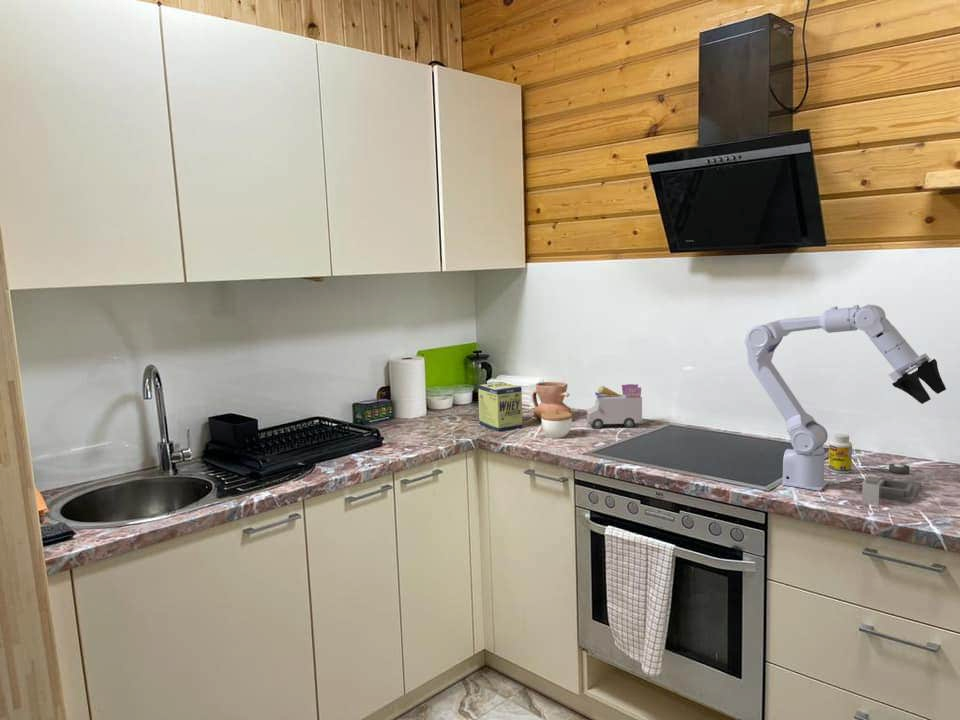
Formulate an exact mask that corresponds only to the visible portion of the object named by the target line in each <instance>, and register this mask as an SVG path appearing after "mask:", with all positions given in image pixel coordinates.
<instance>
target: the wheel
mask: <svg viewBox="0 0 960 720" xmlns="http://www.w3.org/2000/svg"><path fill="white" fill-rule="evenodd" d="M910 469H911V468H910V466H909V465H907V464H904V463H890V464H888V472H889V473H891V474H894V475H899V476H901V475H903V476H906V475H909V474H910Z"/></svg>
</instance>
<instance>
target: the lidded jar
mask: <svg viewBox="0 0 960 720" xmlns="http://www.w3.org/2000/svg"><path fill="white" fill-rule="evenodd" d="M572 417H573V413H572V412H571V413H569V412H564V411H558V410H557V409H555V411H551V412H545V413H542V414H541V420H540V421H541V428H542V430H543V432H544V433H545V434H546V435H547V436H549V437H548V438H550V437H552V438H551V439H563V438H565V437H566V436H567V435H568V434H569V432H570V431H571V428H572V423H573V420H572V419H573V418H572ZM562 437H563V438H562Z"/></svg>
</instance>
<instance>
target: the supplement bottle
mask: <svg viewBox="0 0 960 720" xmlns="http://www.w3.org/2000/svg"><path fill="white" fill-rule="evenodd" d="M828 448H829V449H828V470H829V471H830V472H832V473H836V474H849V473H851V471H852V458H853V443H852V442H850V435H849V434H846V433H833V434H832V440H830V441H829V447H828Z"/></svg>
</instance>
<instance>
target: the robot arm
mask: <svg viewBox="0 0 960 720" xmlns="http://www.w3.org/2000/svg"><path fill="white" fill-rule="evenodd" d="M819 329H822V330H823V331H825V332H827V333H828V334H829V333H830V334H832V333H844V332H854V331H857V330H860V331H863V332H864V333H865V334H866V335H867V337H868V338H869V339H870V341H871V342H872V343H873V345H874V346H875V347H876V348H877V350H878V351H879V352H880V353H881V355H882V356H883V357H884V358H885V359H886V360H887V362H888V363H889V365H890V366H891V367H892V368H893V369H894V371H892V372H890V373H889V374H888V376H889V377H890V378H891V380H892V381H893V382H892V383H891V384H892V386H893V387H894V388H896V389H899V390H900V391H903V392H904V393H906V394H908V395H910V396H911V397H912V398H913V399H914V400H916V401H917V402H918V403H920V404H921V405H923V404H925V403H928V402H929V401H931V397H930V394H928V392H927V390H926V388H925V387H924V386H923V384H922V382H921V381H923V382H924V383H925V384H926V385H927V386H928V387H929V388H930V389H931V390H932V391H933V392H934V393H936V394H937V395H938V394H940V393H942V392H944V391H946V390H947V387H946V385H945V383H944V381H943V380H942V377H941V375H940V374H941V373H940V372H939V368H938V361H937V360H936V359H935V358H933V359H931V358H930V357H929V356H928V355H927V353H926V352H925V353H923V354H921V355H918V354H917V352H916V351H915V350H914V349H913V348H912V346H911V345H910V343H908V341H907V340H906V339H905V338H904V337H903V335H902V334H901V333H900V332H899V331H898V330H897V328H896V326H894V325H893V324H892V323H891V322H890V321H889V319H888V318H887V317H886V311H885V310H884V309H883V308H882V307H881V306H879V305H877V304H866V305H864V306H861V307H860V305H859V304H854V305H853V306H852V307H844V308H843V307H842V308H841V307H840V308H839V307H838V306H831V307H830V308H829V309H826V310H825V311H824V312H823V313H822V314H821V315H817V316H804V317H794V318H793V317H791V318H784V319H783V318H782V319H778V320H775V321H770V322H766V323H764V324H759V325H754V326H752V327H751V328H749V330H748V331H747V334H746V336H745V339H744V344H745V347H746V353H747V364H748V366H749V368H750V369H751V371H752V373H753V374H754V376H755V377H756V378H757V379H758V381H759V383H760V384H761V386H762V387H763V389H764V391H765V392H766V394H767V396H768V397H769V398H770V400H771V401H772V403H773V405H775V407H776V409H777V410H778V411H779V413H780V415H781V416H782V417H783V419H784V420H785V422H786V432H787V433H788V435H789V437H790V444H791V445H792V449H791V448H786V449H785V451H784V454H783V459H782V460H783V461H782V482H781V485H782V486H786V487H794V488H801V489H807V490H812V491H813V490H814V491H819V492H820V491H822V490H823V489H824V488H825V487H826V486H827V485H828V483H829V481H828V480H824V479H825V448H824V447H823V445H825V444H826V443H827V441H828V432H827V430H826V429H827V428H825V427H824V425H822V424H820V423H818V421H816V420H815V418H814V416H812V415H810V414H809V413H807V412H806V410H805V409H804V408H803V407H802V404H800V402H799V400H798V399H797V398H796V395H794V393H793V392H792V390H791V389H790V387H789V385H788V384H787V383H786V381H785V380H784V378H783V376H782V375H781V374H780V372H779V371H778V369H777V368H776V366H775V365H774V363H773V362H772V360H773V357H774V353H775V350H777V347H778V346H779V345H780V343H781V342H782V341H783V339H784V337H787V336H788V335H789V334H791V333H793V332H800V331H809V330H810V331H811V330H819ZM914 370H915V371H914ZM912 371H913V372H912ZM910 372H911V373H910Z"/></svg>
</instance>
